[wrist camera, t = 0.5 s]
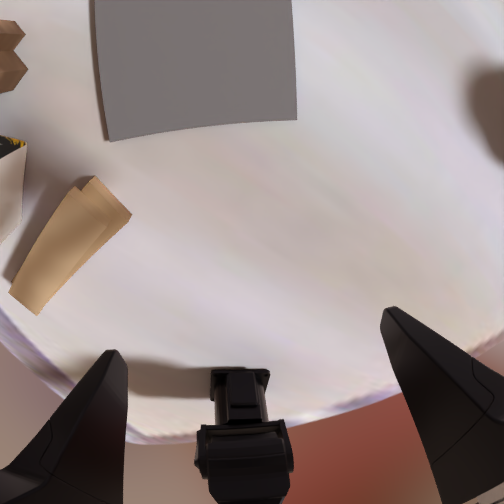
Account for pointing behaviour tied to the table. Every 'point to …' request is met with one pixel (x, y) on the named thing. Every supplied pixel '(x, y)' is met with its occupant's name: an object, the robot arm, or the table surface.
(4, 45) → the walnut rack
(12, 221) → the medicine bottle
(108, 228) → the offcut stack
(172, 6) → the rubber mat
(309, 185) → the table surface
